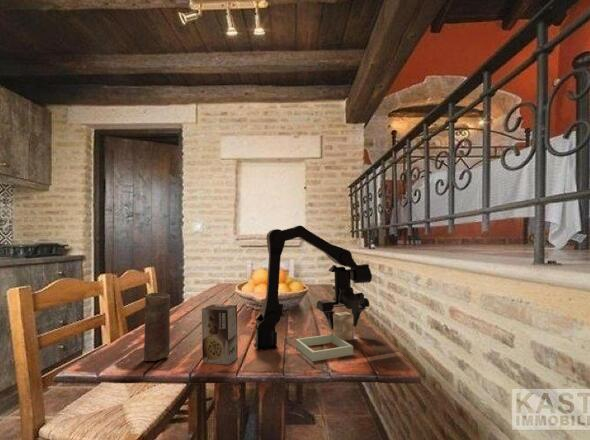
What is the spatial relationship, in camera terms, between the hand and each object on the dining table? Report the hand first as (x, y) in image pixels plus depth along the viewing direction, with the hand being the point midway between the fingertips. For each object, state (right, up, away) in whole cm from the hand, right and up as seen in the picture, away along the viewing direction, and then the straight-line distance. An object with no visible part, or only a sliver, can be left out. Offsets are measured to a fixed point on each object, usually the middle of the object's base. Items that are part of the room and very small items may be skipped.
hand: (343, 327), depth 120 cm
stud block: (0, -4, 0) cm, 4 cm away
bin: (-8, -4, -14) cm, 17 cm away
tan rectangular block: (0, -3, 0) cm, 3 cm away
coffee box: (-40, -4, -18) cm, 44 cm away
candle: (-60, -5, -16) cm, 62 cm away
